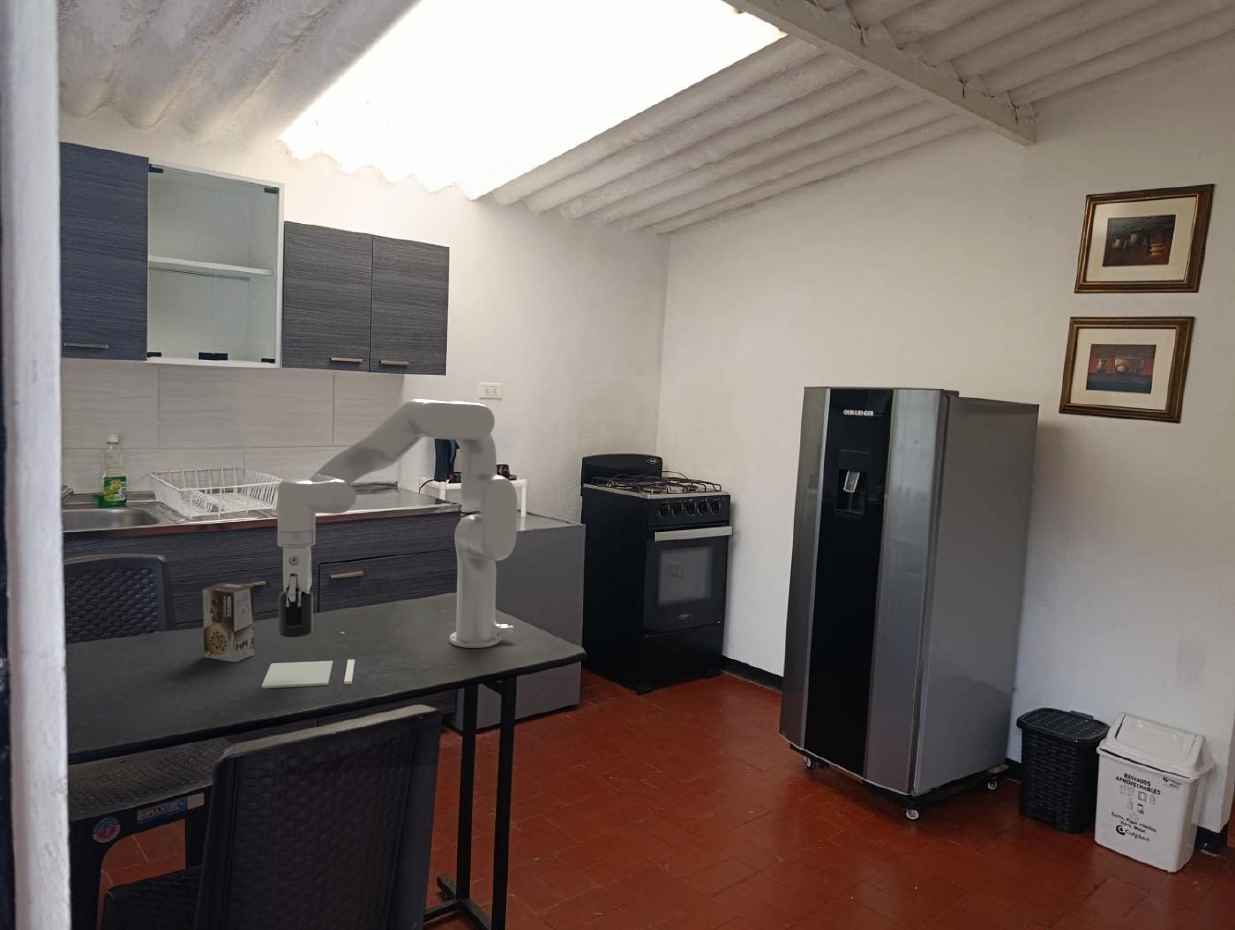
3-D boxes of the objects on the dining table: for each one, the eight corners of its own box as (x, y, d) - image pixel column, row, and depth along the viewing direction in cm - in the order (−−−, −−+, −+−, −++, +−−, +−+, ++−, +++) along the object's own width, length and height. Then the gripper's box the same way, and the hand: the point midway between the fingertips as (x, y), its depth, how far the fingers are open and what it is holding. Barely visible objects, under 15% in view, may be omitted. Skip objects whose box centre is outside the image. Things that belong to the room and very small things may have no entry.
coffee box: (255, 654, 195) (255, 586, 193) (234, 663, 189) (234, 592, 187) (224, 649, 198) (223, 581, 196) (202, 657, 192) (201, 587, 190)
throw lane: (354, 662, 193) (354, 659, 193) (351, 683, 179) (351, 681, 179) (271, 665, 188) (271, 663, 188) (261, 688, 175) (261, 685, 175)
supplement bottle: (318, 630, 185) (318, 576, 184) (303, 639, 178) (304, 583, 177) (288, 628, 186) (288, 574, 184) (272, 637, 179) (272, 581, 178)
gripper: (311, 545, 172) (310, 631, 174) (318, 530, 189) (318, 608, 191) (272, 545, 171) (271, 632, 172) (283, 530, 187) (282, 609, 189)
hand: (296, 619), depth 182 cm, fingers closed on supplement bottle, 6 cm apart
